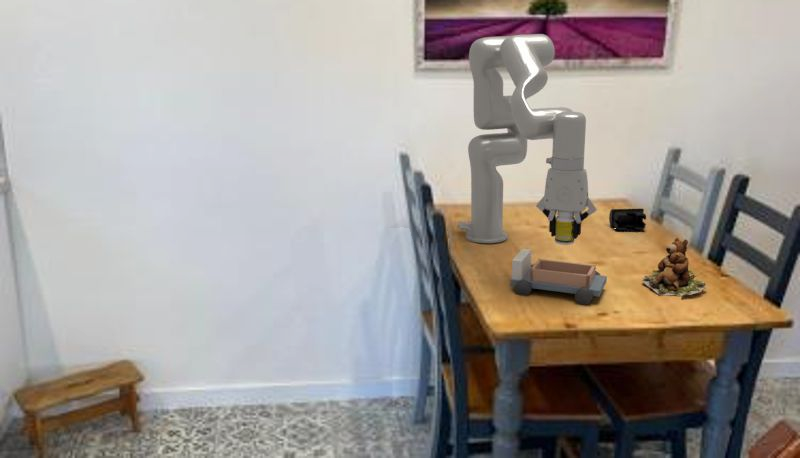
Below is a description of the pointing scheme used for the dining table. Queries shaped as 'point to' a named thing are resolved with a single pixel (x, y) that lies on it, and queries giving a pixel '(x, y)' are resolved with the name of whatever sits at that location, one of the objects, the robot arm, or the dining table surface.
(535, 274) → the toy truck
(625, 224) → the end cap
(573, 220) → the supplement bottle
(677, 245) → the bear figurine
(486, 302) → the dining table surface
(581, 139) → the robot arm
